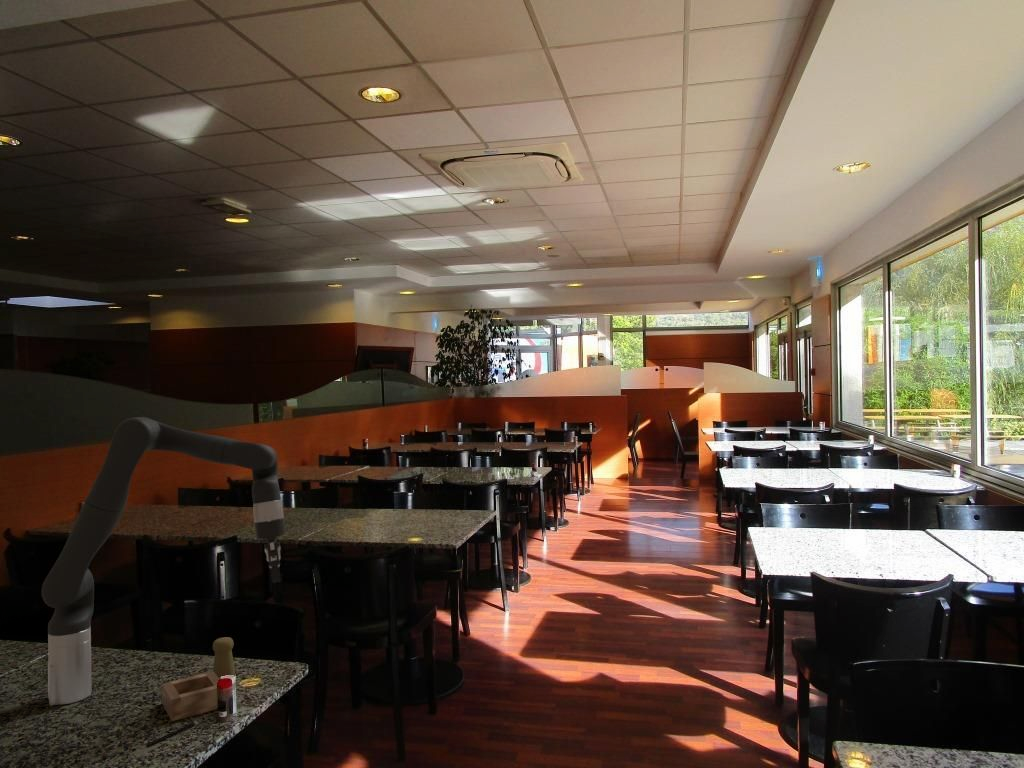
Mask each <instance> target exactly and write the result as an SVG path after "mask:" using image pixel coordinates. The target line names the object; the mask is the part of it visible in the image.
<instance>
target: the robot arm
mask: <svg viewBox="0 0 1024 768" xmlns="http://www.w3.org/2000/svg"><path fill="white" fill-rule="evenodd" d="M147 451H168V452H173V453H179V454H182V455H186V456H190V457H192V458H196V459H198V460H203V461H205V462H209V463H214V464H215V463H216V464H221V465H229V466H230V465H231V466H236V467H241V468H246V469H249V470H251V472H252V474H251V475H252V481H253V482H252V485H251V496H252V497H251V498H252V504H253V508H252V511H253V512H252V514H253V515H252V516H253V521H254V522H253V523H254V531H255V539H257V540H263V539H265V540H266V544H264V545H263V546H264V553H265V555H266V561H267V563H268V567H269V569H270V577H271V583H272V584H276V583H280V582H281V581H282V579H281V572H280V571H281V569H280V566H281V562H280V560H281V557H282V556H281V543H280V541H279V542H278V539H277V537H280V536H284V535H285V534H286V533H287V530H286V525H285V522H286V521H285V515H284V509H283V508H284V507H283V503H282V500H281V490H280V485H279V464H278V455H277V452H276V450H275V449H274V448H273V447H272V446H270V445H267V444H263V443H258V442H250V441H242V440H238V439H234V438H231V437H224V436H221V435H220V436H219V435H215V434H208V433H202V432H197V431H196V432H195V431H190V430H186V429H182V428H181V429H180V428H179V427H174V426H171V425H168V424H165V423H163V422H159V421H157V420H154V419H152V418H149V417H146V416H137V417H130V418H127V419H125V420H123V421H122V422H121V423H119V425H118V426H117V427H116V429H115V431H114V433H113V436H112V440H111V442H110V445H109V448H108V451H107V454H106V457H105V458H104V459H105V460H104V463H103V464H102V466H101V468H100V471H98V474H97V476H96V478H95V480H94V482H93V484H92V486H91V488H90V490H89V492H88V494H87V496H86V497H85V499H84V501H83V504H82V506H81V509H80V510H79V513H78V515H77V517H76V520H75V522H74V523H73V526H72V528H71V531H70V533H69V535H68V537H67V539H66V542H65V544H64V546H63V549H62V550H61V553H60V554H59V556H58V558H57V560H56V561H55V562H54V564H53V566H52V568H51V569H50V571H49V572H48V574H47V576H46V578H45V579H44V581H43V583H42V585H41V586H42V587H41V597H42V600H43V602H44V603H45V605H46V606H48V607H50V608H52V609H54V612H53V615H52V616H51V618H50V620H49V622H48V624H47V637H48V638H47V641H48V644H47V645H48V652H47V654H48V656H47V657H48V661H47V682H48V683H47V688H48V693H47V694H48V697H47V698H48V704H49V706H50V707H52V706H56V705H58V706H59V705H60V706H61V705H68V704H73V703H76V702H80V701H82V700H85V699H86V698H88V697H90V696H91V694H92V644H91V643H92V634H91V631H92V629H91V628H92V627H91V620H92V617H93V614H94V606H95V602H94V601H95V580H94V576H93V574H92V572H91V570H90V569H89V566H90V564H91V562H92V560H93V558H94V557H95V555H96V554H97V553H98V551H99V550H100V549H101V548H102V546H103V545H104V544H105V543H106V541H107V540H108V539H109V537H110V536H111V534H112V533H113V531H114V530H115V529H116V527H117V525H118V523H119V522H120V520H121V517H122V515H123V513H124V510H125V508H126V506H127V502H128V498H129V494H130V486H131V480H132V476H133V474H134V471H135V470H136V467H137V466H138V464H139V461H140V460H141V459H142V457H143V455H144V454H145V452H147Z"/></svg>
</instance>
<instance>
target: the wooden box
mask: <svg viewBox="0 0 1024 768" xmlns="http://www.w3.org/2000/svg"><path fill="white" fill-rule="evenodd" d="M218 680H219V678H218V677H217V675H216V674H215V673H214V672H213V671H208V672H205V673H202V674H196V675H191V676H188V677H185V678H184V677H183V678H179V679H177V680H173V681H172V680H171V681H168V682H164V683H162V684H161V690H162V693H161V694H162V695H161V696H162V698H161V699H162V700H161V701H162V702H161V703H162V706H163V707H164V709H165V711H166V713H167V715H168V716H169V719H170V721H171V722H175V721H178V720H183V719H186V718H189V717H192V716H197V715H200V714H204V713H208V712H211V711H215V710H218V709H217V703H218V702H217V701H218V698H217V683H218Z"/></svg>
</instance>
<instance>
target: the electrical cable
mask: <svg viewBox="0 0 1024 768" xmlns="http://www.w3.org/2000/svg"><path fill="white" fill-rule="evenodd" d="M196 724H197V725H198V724H199V722H198V721H194V722H193V721H192V722H191V723H189V724H186V725H185V726H183V727H180V728H179V729H176V730H174V731H172V732H169V733H167V734H165V735H163V736H161V737H159V738H157V739H155V740H154V741H150V742H148V743H145V746H146V747H145V748H147V749H149V748H151V747H154V746H155V745H157V744H159V743H161V742H163V741H165V740H167V739H170V738H172V737H174V736H176V735H178V734H180V733H183V732H184V731H186V730H188V729H190V728H193V727H194V726H197V725H196Z"/></svg>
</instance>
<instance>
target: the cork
mask: <svg viewBox="0 0 1024 768" xmlns="http://www.w3.org/2000/svg"><path fill="white" fill-rule="evenodd" d="M234 645H235V643H234V640H233V638H231V637H230V636H229V637H227V636H225V637H219V638H216V639H215V640H214V641H213V644H212V650H213V651H214V658H213V659H214V660H213V667H212V672H214V673H215V674H216V675H217V677H218V678H220V677H221V676H225V675H234V676H236V671H235V664H234V663H235V662H234V657H233V656H234V655H233V651H232V649H233V648H234ZM236 677H237V676H236Z"/></svg>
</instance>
